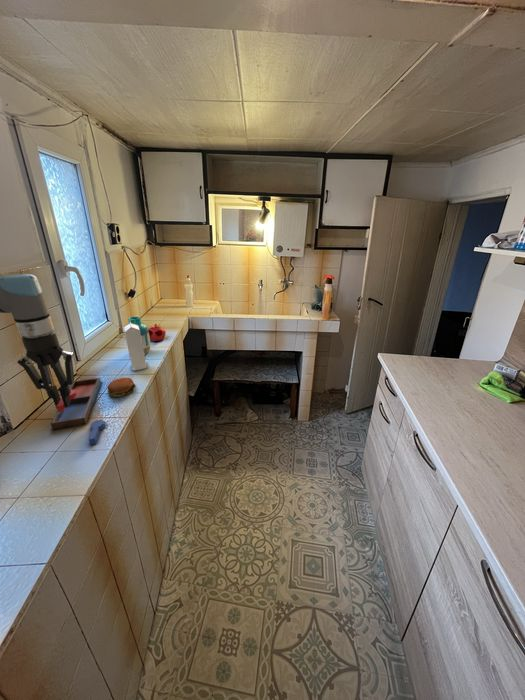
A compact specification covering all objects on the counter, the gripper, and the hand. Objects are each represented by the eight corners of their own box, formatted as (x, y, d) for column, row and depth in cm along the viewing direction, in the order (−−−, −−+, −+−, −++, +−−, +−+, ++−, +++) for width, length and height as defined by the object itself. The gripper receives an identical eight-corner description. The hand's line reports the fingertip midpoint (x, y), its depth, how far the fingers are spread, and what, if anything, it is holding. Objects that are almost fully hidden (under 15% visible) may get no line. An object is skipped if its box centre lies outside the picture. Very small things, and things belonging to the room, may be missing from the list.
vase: (126, 358, 138) (118, 321, 130) (133, 349, 148) (126, 314, 140) (149, 357, 139) (142, 320, 131) (154, 348, 148) (148, 314, 140)
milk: (145, 362, 134) (137, 318, 125) (146, 368, 129) (138, 322, 120) (131, 365, 131) (122, 320, 122) (132, 371, 126) (123, 324, 117)
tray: (52, 429, 91) (50, 423, 90) (75, 386, 115) (73, 381, 114) (86, 423, 94) (84, 417, 93) (101, 382, 117) (99, 377, 116)
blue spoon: (85, 445, 85) (84, 440, 84) (92, 424, 93) (91, 420, 92) (100, 442, 86) (99, 437, 85) (106, 422, 94) (104, 417, 94)
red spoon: (53, 412, 83) (51, 407, 82) (64, 394, 92) (62, 389, 91) (68, 410, 84) (66, 404, 83) (78, 392, 93) (76, 387, 92)
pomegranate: (151, 336, 165) (149, 321, 161) (168, 336, 165) (166, 321, 161) (145, 342, 156) (142, 326, 152) (163, 342, 156) (160, 326, 152)
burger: (103, 395, 109) (100, 385, 107) (121, 383, 117) (118, 373, 115) (124, 400, 106) (121, 389, 104) (140, 387, 114) (138, 377, 112)
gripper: (-2, 341, 71) (30, 417, 81) (64, 335, 75) (87, 408, 84) (12, 331, 77) (40, 402, 87) (73, 326, 81) (93, 394, 91)
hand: (63, 405), depth 86 cm, fingers closed on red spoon, 1 cm apart
